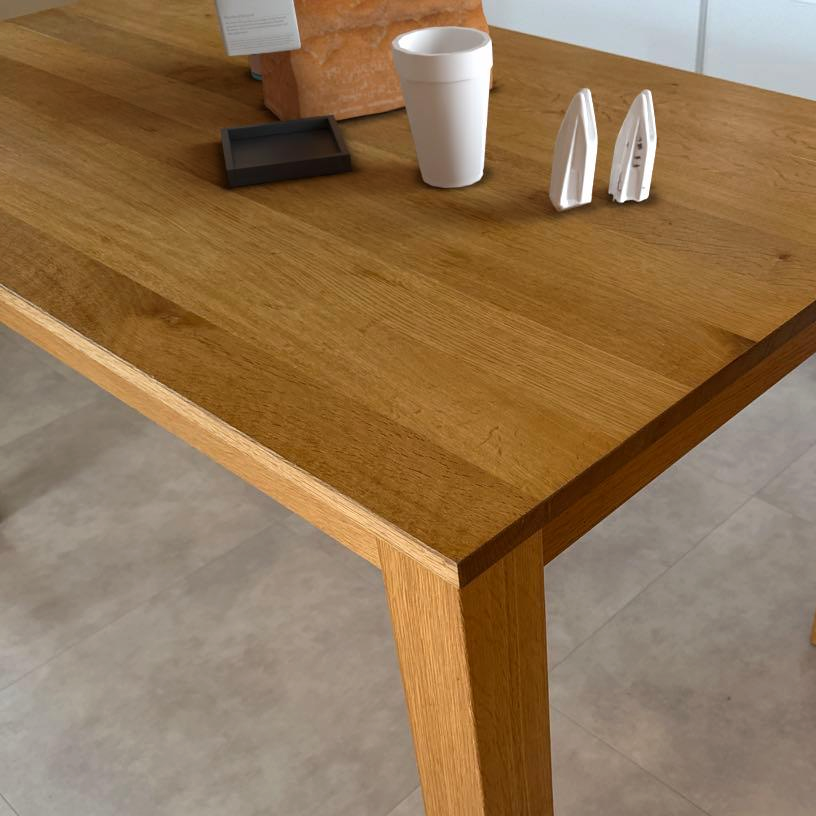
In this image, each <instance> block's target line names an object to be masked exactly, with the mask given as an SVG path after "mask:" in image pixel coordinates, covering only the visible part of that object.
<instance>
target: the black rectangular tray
mask: <svg viewBox="0 0 816 816" xmlns="http://www.w3.org/2000/svg"><path fill="white" fill-rule="evenodd" d="M219 131H220V137H221V144H222V150H223V157H224V163H225V169H226V174H227V178H228V182H229V188H236V187H243V186H251V185H259V184H266V183H273V182H280V181H289V180H296V179H297V180H298V179H303V178H310V177H319V176H326V175H333V174H340V173H341V174H342V173H348V172H353V167H352V158H351V153H350V151H349V149H348V146H347V144H346V141H345V139H344V136H343V134H342V132H341V129H340V127H339V124H338V122H337V121H336V119H335V117H334V115H327V116H318V117H310V118H301V119H293V120H285V121H281V120H277V121H270V122H261V123H253V124H246V125H239V126H238V125H237V126H228V127H219Z"/></svg>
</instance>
